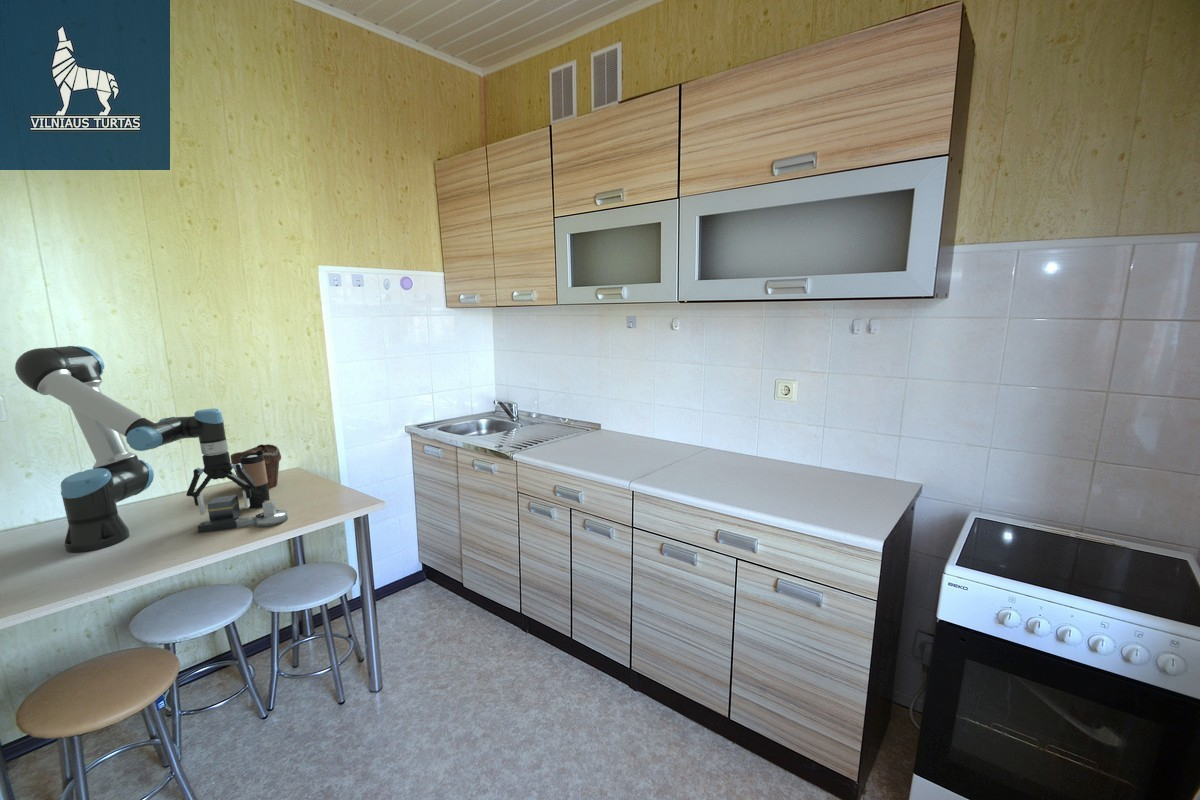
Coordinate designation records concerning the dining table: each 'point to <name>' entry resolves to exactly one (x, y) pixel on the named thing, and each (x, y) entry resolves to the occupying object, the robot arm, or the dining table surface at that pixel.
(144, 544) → the dining table surface
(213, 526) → the ratchet
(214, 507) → the gold-striped grey cube
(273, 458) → the brown tapered pot
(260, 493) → the travel mug
